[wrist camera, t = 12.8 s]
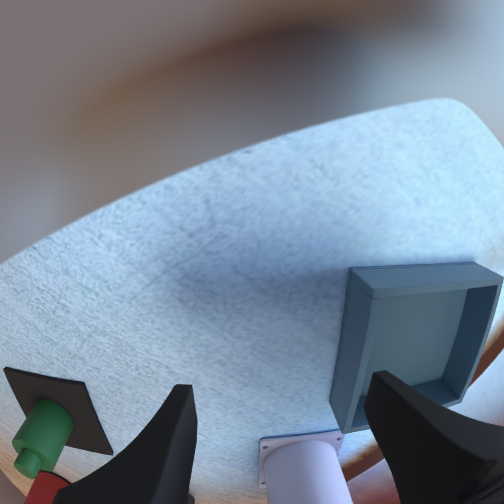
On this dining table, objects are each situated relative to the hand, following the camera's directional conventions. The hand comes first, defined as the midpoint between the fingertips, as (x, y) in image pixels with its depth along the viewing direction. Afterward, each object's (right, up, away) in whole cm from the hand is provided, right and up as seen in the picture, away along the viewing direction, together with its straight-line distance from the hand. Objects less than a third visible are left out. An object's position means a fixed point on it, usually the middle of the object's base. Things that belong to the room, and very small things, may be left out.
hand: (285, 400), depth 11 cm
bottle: (-21, -10, +11) cm, 26 cm away
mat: (-21, -10, +12) cm, 26 cm away
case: (+11, -1, +11) cm, 16 cm away
